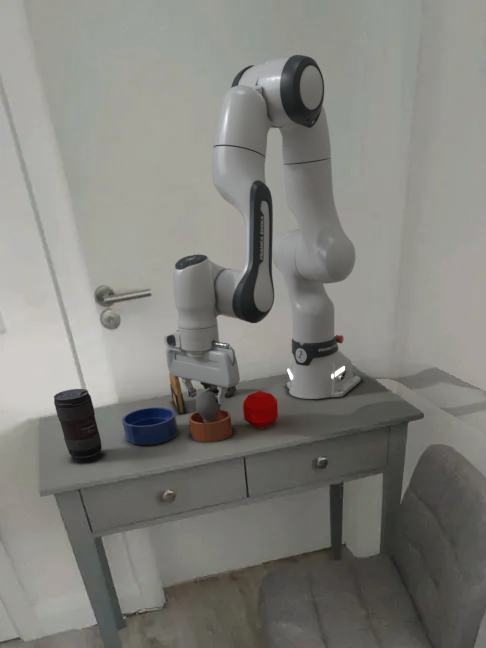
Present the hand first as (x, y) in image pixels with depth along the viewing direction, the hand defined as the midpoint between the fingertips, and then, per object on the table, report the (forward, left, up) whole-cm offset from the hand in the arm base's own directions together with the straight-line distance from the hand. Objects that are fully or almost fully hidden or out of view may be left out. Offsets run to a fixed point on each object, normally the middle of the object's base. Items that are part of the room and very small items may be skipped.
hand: (206, 399), depth 145 cm
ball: (-11, +7, -9) cm, 16 cm away
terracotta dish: (0, 0, -9) cm, 9 cm away
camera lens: (+26, -16, -9) cm, 31 cm away
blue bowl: (+9, -12, -9) cm, 17 cm away
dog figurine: (-22, -18, -9) cm, 30 cm away
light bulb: (0, 0, -9) cm, 8 cm away
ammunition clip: (-9, -21, -9) cm, 25 cm away
